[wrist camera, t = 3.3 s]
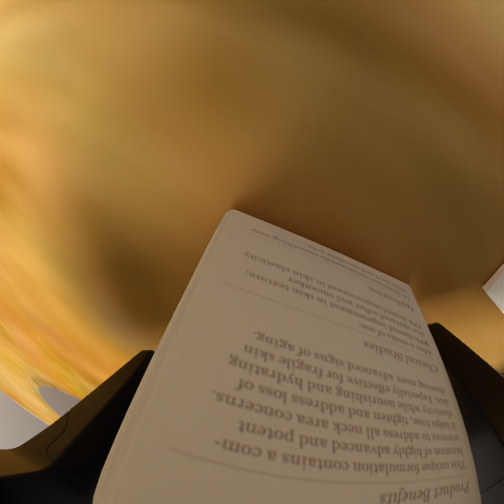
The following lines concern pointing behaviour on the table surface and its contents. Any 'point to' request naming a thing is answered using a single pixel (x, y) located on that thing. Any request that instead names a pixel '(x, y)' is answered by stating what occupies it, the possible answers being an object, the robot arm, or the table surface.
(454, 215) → the table surface
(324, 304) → the product box
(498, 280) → the pad
